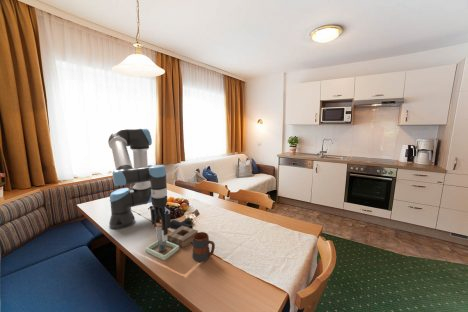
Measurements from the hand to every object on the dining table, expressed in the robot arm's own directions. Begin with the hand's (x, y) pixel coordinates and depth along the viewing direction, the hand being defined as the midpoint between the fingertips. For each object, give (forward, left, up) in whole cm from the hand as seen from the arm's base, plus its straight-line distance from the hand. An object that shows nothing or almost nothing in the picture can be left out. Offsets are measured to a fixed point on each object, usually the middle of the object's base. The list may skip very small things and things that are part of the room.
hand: (161, 238), depth 101 cm
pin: (0, 0, -6) cm, 6 cm away
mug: (+22, +7, -8) cm, 24 cm away
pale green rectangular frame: (0, 0, -8) cm, 8 cm away
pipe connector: (-8, +25, -8) cm, 27 cm away
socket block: (+2, +13, -8) cm, 15 cm away
